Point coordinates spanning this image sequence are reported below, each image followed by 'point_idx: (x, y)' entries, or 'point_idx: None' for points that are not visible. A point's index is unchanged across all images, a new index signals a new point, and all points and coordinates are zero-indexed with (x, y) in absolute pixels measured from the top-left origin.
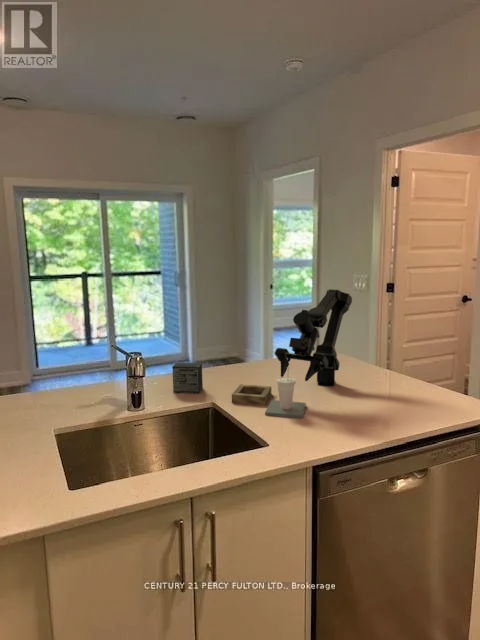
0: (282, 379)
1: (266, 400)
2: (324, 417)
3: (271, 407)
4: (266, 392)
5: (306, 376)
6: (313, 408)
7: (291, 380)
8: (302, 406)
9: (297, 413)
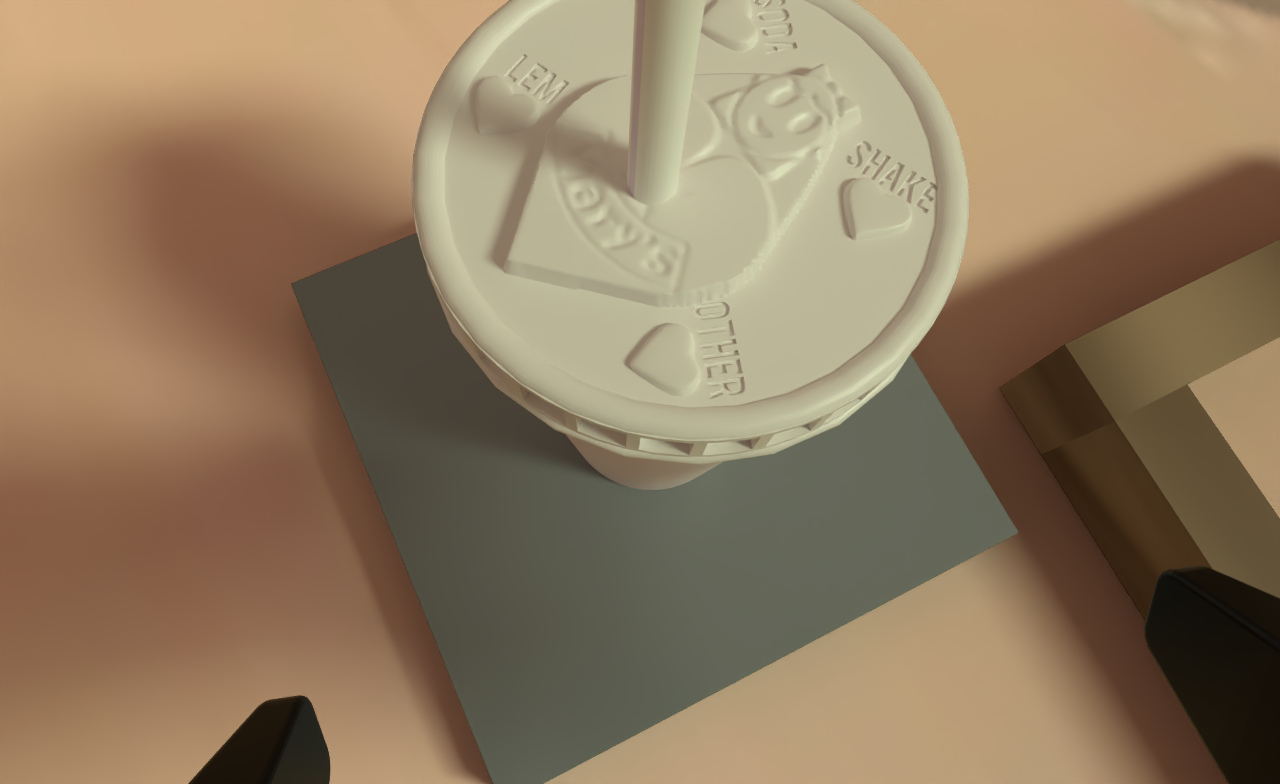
0: (765, 89)
1: (1087, 497)
2: (30, 528)
3: None
4: (1225, 555)
5: (226, 781)
6: (337, 761)
7: (527, 206)
8: (457, 600)
9: (375, 308)
